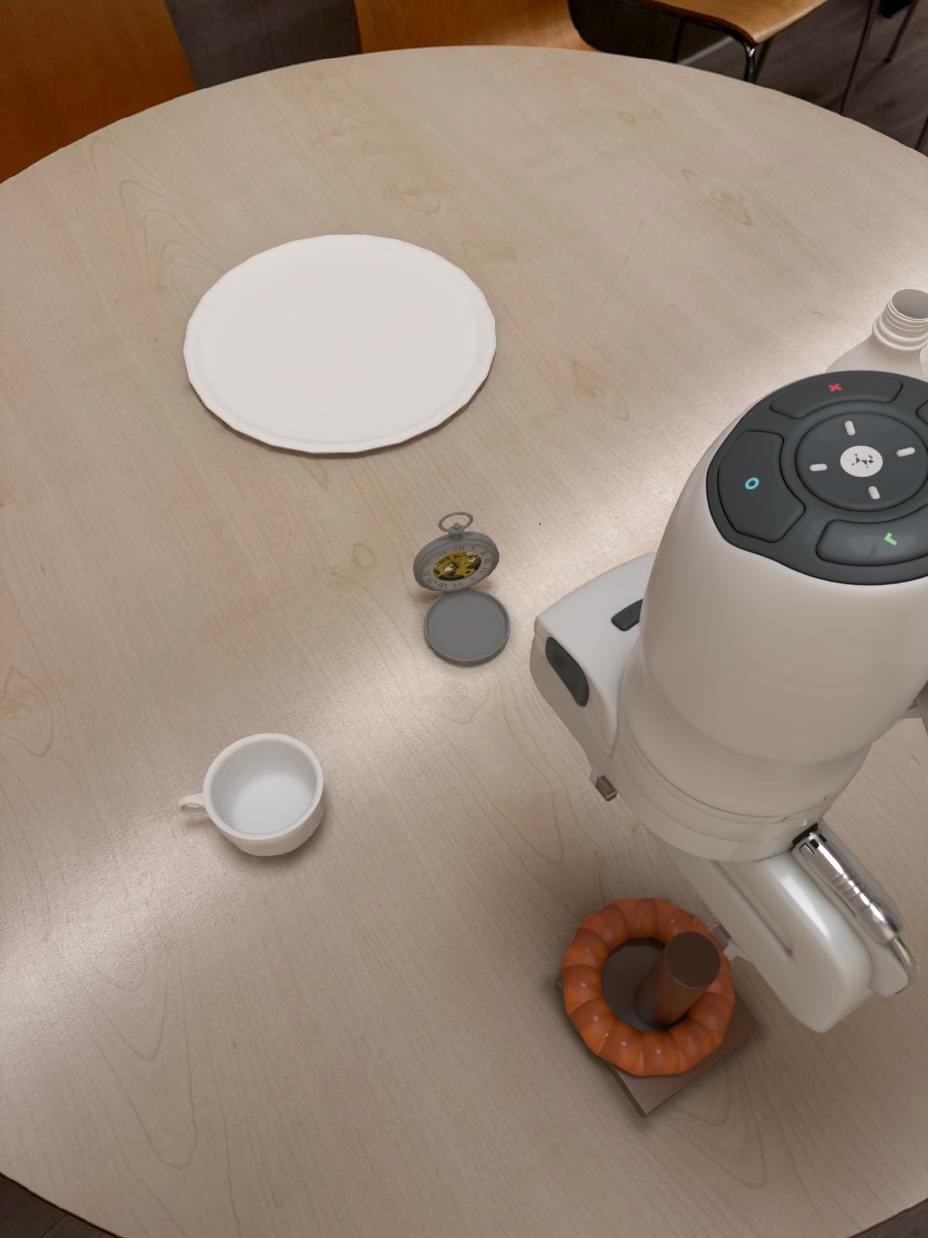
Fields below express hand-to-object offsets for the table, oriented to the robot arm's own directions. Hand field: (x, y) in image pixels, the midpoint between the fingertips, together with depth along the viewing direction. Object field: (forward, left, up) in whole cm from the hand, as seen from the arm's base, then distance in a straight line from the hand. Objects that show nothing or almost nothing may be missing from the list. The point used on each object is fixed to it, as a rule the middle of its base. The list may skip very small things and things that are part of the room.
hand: (668, 858), depth 51 cm
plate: (+59, -13, -19) cm, 63 cm away
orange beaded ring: (-3, 0, -16) cm, 16 cm away
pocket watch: (+27, -6, -19) cm, 34 cm away
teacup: (+21, +15, -19) cm, 32 cm away
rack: (-4, 0, -19) cm, 19 cm away
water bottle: (+18, -33, -19) cm, 42 cm away
